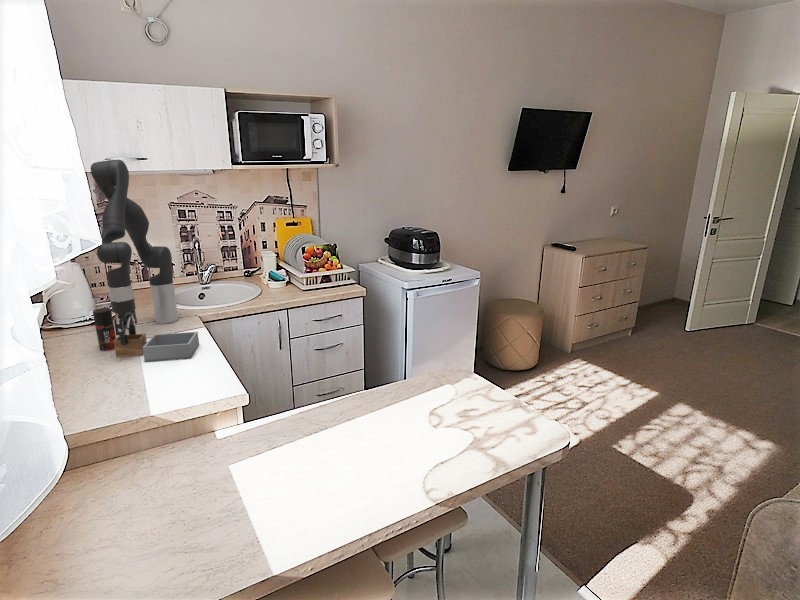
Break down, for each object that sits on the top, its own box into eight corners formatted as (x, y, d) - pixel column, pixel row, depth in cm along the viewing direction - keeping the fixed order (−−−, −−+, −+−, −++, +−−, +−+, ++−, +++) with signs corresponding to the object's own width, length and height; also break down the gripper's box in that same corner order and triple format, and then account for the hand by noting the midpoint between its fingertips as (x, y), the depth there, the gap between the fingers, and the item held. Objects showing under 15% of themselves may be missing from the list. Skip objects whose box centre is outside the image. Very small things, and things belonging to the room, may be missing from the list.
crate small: (122, 351, 187) (119, 335, 185) (148, 350, 189) (145, 333, 187) (116, 357, 182) (113, 340, 180) (142, 355, 183) (140, 339, 181)
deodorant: (104, 351, 187) (96, 313, 183) (97, 348, 190) (89, 310, 186) (120, 347, 191) (113, 309, 187) (113, 344, 195) (106, 307, 191)
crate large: (156, 348, 190) (154, 334, 188) (199, 345, 192) (197, 331, 191) (144, 361, 177) (142, 347, 175) (191, 358, 179) (189, 344, 178)
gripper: (118, 293, 185) (125, 335, 190) (102, 303, 172) (110, 348, 176) (140, 292, 187) (146, 334, 191) (126, 302, 173) (133, 346, 177)
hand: (129, 340), depth 183 cm, fingers open, 8 cm apart
